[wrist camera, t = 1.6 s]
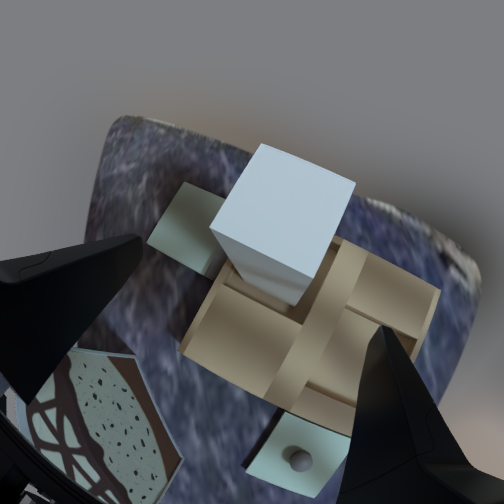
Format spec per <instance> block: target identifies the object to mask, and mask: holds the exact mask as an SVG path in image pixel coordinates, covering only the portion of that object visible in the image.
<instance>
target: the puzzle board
mask: <svg viewBox="0 0 504 504" xmlns="http://www.w3.org/2000/svg"><path fill="white" fill-rule="evenodd" d="M225 200H226V199H224V198H221V197H219V196H217V195H215V194H212V193H210V192H208V191H205V190H203V189H201V188H198V187H196V186H194V185H191V184H189V183H187V182H184V183H183V184H182V186H181V187H180V189H179V191H178V192H177V194H176V195H175V197H174V198H173V200H172V201H171V203H170V204H169V206H168V208H167V209H166V211H165V212H164V214H163V216H162V217H161V219H160V221H159V222H158V224H157V225H156V227H155V229H154V230H153V232H152V234H151V235H150V237H149V239H148V241H147V242H146V243H147V244H149V245H150V246H152V247H154V248H155V249H157V250H159V251H161V252H162V253H164V254H166V255H168V256H169V257H171V258H173V259H175V260H176V261H178V262H180V263H182V264H184V265H185V266H187V267H189V268H191V269H192V270H194V271H196V272H198V273H200V274H202V275H203V276H205V277H207V278H209V279H211V280H213V281H214V284H213V285H212V287H211V289H210V291H209V293H208V294H207V296H206V298H205V300H204V302H203V304H202V305H201V307H200V309H199V311H198V313H197V314H196V316H195V318H194V320H193V322H192V324H191V326H190V327H189V329H188V331H187V333H186V335H185V337H184V338H183V340H182V342H181V344H180V346H179V348H178V350H177V351H178V352H180V353H182V354H183V355H185V356H186V357H188V358H190V359H191V360H193V361H195V362H196V363H198V364H200V365H201V366H203V367H205V368H206V369H208V370H210V371H212V372H213V373H215V374H217V375H219V376H220V377H222V378H224V379H226V380H228V381H229V382H231V383H233V384H235V385H237V386H239V387H241V388H242V389H244V390H246V391H248V392H250V393H252V394H254V395H256V396H258V397H260V398H262V399H264V400H266V401H268V402H270V403H272V404H274V405H276V406H278V407H281V408H283V409H285V411H284V413H283V414H282V416H281V418H280V419H279V421H278V422H277V424H276V426H275V427H274V429H273V430H272V432H271V433H270V435H269V436H268V438H267V440H266V441H265V443H264V444H263V446H262V447H261V449H260V450H259V451H258V453H257V454H256V456H255V457H254V459H253V460H252V462H251V463H250V465H249V466H248V467H247V469H246V471H245V472H246V473H248V474H250V475H253V476H255V477H257V478H260V479H262V480H264V481H267V482H269V483H272V484H274V485H277V486H280V487H282V488H285V489H288V490H291V491H293V492H296V493H299V494H302V495H305V496H308V497H312V498H315V497H316V495H317V494H318V493H319V492H320V490H321V489H322V488H323V487H324V485H325V484H326V483H327V481H328V480H329V479H330V477H331V476H332V475H333V473H334V472H335V471H336V469H337V468H338V466H339V465H340V464H341V462H342V461H343V459H344V458H345V456H346V455H347V454H348V451H349V446H350V441H351V435H352V429H353V423H354V417H355V411H356V404H357V396H358V389H359V383H360V378H361V374H362V369H363V365H364V360H365V356H366V351H367V346H368V343H369V341H370V339H371V338H372V336H373V335H374V333H375V332H376V330H377V329H378V327H379V326H380V325H384V326H388V327H390V328H392V329H393V331H394V333H395V334H396V336H397V338H398V339H399V341H400V342H401V344H402V346H403V347H404V349H405V351H406V353H407V354H408V356H409V358H410V359H411V361H412V363H413V364H414V362H415V359H416V357H417V355H418V352H419V350H420V348H421V345H422V343H423V340H424V338H425V335H426V333H427V330H428V327H429V325H430V322H431V319H432V316H433V314H434V311H435V308H436V305H437V302H438V299H439V296H440V292H441V290H439V289H437V288H436V287H434V286H432V285H430V284H428V283H427V282H425V281H423V280H421V279H419V278H418V277H416V276H414V275H412V274H410V273H408V272H406V271H405V270H403V269H401V268H399V267H397V266H395V265H393V264H391V263H389V262H388V261H386V260H384V259H382V258H380V257H378V256H376V255H374V254H372V253H370V252H368V251H366V250H364V249H362V248H360V247H358V246H356V245H354V244H352V243H350V242H348V241H346V240H344V239H342V238H340V237H338V236H336V235H334V236H333V238H332V240H331V242H330V244H329V247H328V249H327V251H326V253H325V255H324V257H323V260H322V262H321V264H320V266H319V268H318V270H317V272H316V274H315V276H314V278H313V280H312V282H311V283H310V285H309V286H308V288H307V289H306V291H305V292H304V294H303V295H302V297H301V298H300V300H299V301H298V303H297V304H296V306H295V307H294V306H292V305H290V304H288V303H286V302H284V301H282V300H280V299H278V298H276V297H274V296H272V295H270V294H268V293H266V292H264V291H262V290H260V289H258V288H256V287H254V286H252V285H251V284H249V283H247V282H245V281H244V280H243V278H242V277H241V275H240V274H239V272H238V271H237V269H236V268H235V266H234V265H233V263H232V262H231V260H230V259H229V257H228V256H227V254H226V252H225V251H224V249H223V248H222V246H221V245H220V243H219V242H218V240H217V239H216V237H215V236H214V234H213V232H212V231H211V229H210V228H209V227H210V225H211V224H212V222H213V220H214V219H215V217H216V215H217V214H218V212H219V210H220V209H221V207H222V205H223V204H224V202H225ZM286 410H287V411H286ZM288 411H289V412H288ZM293 413H294V414H293ZM295 414H296V415H295ZM297 415H298V416H297ZM302 417H303V418H302ZM304 418H305V419H304ZM306 419H307V420H306ZM309 420H310V421H309ZM311 421H312V422H311ZM313 422H314V423H313ZM316 423H317V424H316ZM318 424H319V425H318ZM321 425H322V426H321ZM323 426H324V427H323ZM326 427H327V428H326ZM328 428H329V429H328ZM331 429H332V430H331ZM333 430H334V431H333ZM336 431H337V432H336ZM339 432H340V433H339ZM341 433H342V434H341ZM344 434H345V435H344ZM347 435H348V436H347ZM349 436H350V437H349Z"/></svg>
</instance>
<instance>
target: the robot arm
mask: <svg viewBox="0 0 504 504" xmlns="http://www.w3.org/2000/svg"><path fill="white" fill-rule="evenodd" d="M142 256H143V248H142V238H141V237H140V236H137V235H135V234H128V235H123V236H118V237H113V238H109V239H104V240H99V241H94V242H90V243H85V244H80V245H76V246H71V247H67V248H62V249H58V250H54V251H49V252H45V253H41V254H36V255H31V256H26V257H20V258H15V259H9V260H4V261H0V504H107V503H105V502H104V501H102V500H101V499H99V498H98V497H96V496H95V495H93V494H92V493H91V492H89V491H88V490H86V489H85V488H84V487H82V486H81V485H79V484H78V483H77V482H76V481H74V480H73V479H72V478H70V477H69V476H68V475H67V474H65V473H64V472H63V471H62V470H60V469H59V468H58V467H57V466H56V465H54V464H53V463H52V462H51V461H50V460H49V459H48V458H47V457H45V456H44V455H43V454H42V453H41V452H40V451H39V450H38V449H37V448H36V447H35V446H34V445H33V444H32V443H31V442H30V441H29V440H28V439H27V438H26V437H25V436H24V435H23V434H22V433H21V432H20V431H19V430H18V429H17V428H16V427H15V426H14V425H13V424H12V423H11V421H10V420H9V419H8V418H7V417H6V396H5V395H4V393H5V392H6V390H7V389H8V388H9V387H10V388H11V389H12V390H13V391H14V393H16V395H17V396H18V397H19V398H20V399H21V400H22V401H23V402H24V403H25V404H26V405H27V406H29V405H30V404H31V402H32V401H33V399H34V398H35V396H36V395H37V394H38V392H39V391H40V389H41V388H42V387H43V385H44V384H45V383H46V381H47V380H48V378H49V377H50V376H51V374H52V373H53V372H54V370H55V369H56V368H57V366H58V365H59V364H60V362H61V361H62V360H63V358H64V357H65V356H66V354H67V353H68V352H69V351H70V349H71V348H72V347H73V346H74V344H75V343H76V342H77V341H78V339H79V338H80V337H81V336H82V334H83V333H84V332H85V331H86V329H87V328H88V327H89V326H90V325H91V323H92V322H93V321H94V320H95V318H96V317H97V316H98V315H99V314H100V313H101V311H102V310H103V309H104V308H105V307H106V305H107V304H108V303H109V302H110V301H111V300H112V299H113V297H114V296H115V295H116V294H117V293H118V292H119V290H120V289H121V288H122V286H123V285H124V284H125V282H126V281H127V280H128V278H129V277H130V275H131V274H132V273H133V271H134V270H135V268H136V267H137V266H138V264H139V263H140V262H141V260H142ZM433 402H434V401H433V399H432V397H431V395H430V393H429V391H428V389H427V388H426V386H425V384H424V382H423V380H422V379H421V377H420V375H419V373H418V372H417V370H416V368H415V366H414V365H413V363H412V361H411V359H410V358H409V356H408V354H407V353H406V351H405V349H404V347H403V346H402V344H401V342H400V341H399V339H398V338H397V336H396V334H395V333H394V331H393V329H392V328H390V327H388V326H384V325H380V326H379V327H378V329H377V330H376V332H375V333H374V335H373V336H372V338H371V339H370V341H369V343H368V346H367V351H366V356H365V360H364V365H363V369H362V374H361V378H360V383H359V389H358V396H357V404H356V411H355V417H354V423H353V429H352V435H351V441H350V446H349V451H348V456H347V461H346V465H345V470H344V474H343V478H342V483H341V487H340V491H339V495H338V498H337V501H336V504H504V480H501V479H499V478H496V477H494V476H491V475H489V474H486V473H484V472H482V471H479V470H477V469H476V468H474V467H473V466H472V465H471V464H470V463H469V461H468V460H467V458H466V457H465V455H464V453H463V452H462V450H461V448H460V447H459V445H458V443H457V441H456V440H455V438H454V436H453V435H452V433H451V432H450V430H449V428H448V426H447V425H446V423H445V421H444V420H443V417H442V416H441V414H440V412H439V410H438V408H437V406H436V404H435V403H433ZM28 483H29V484H30V485H32V486H33V487H35V488H36V489H37V490H38V491H37V492H38V493H39V494H40V495H42V496H44V497H45V498H47V499H49V500H50V502H48V501H46V500H44V499H43V498H41V497H39V496H37V495H35V494H32V493H30V492H28V491H25V490H24V489H25V487H26V486H27V485H28Z"/></svg>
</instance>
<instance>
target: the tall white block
mask: <svg viewBox="0 0 504 504" xmlns="http://www.w3.org/2000/svg"><path fill="white" fill-rule="evenodd" d="M355 185H356V183H355V182H353V181H351V180H348V179H346V178H344V177H342V176H339V175H338V174H335V173H333V172H331V171H329V170H326V169H324V168H322V167H319V166H317V165H315V164H313V163H310V162H308V161H305V160H303V159H301V158H298V157H296V156H293V155H291V154H288V153H286V152H283V151H281V150H278V149H275V148H273V147H270V146H267V145H265V144H261V145H260V146H259V148H258V149H257V151H256V153H255V154H254V156H253V157H252V159H251V160H250V162H249V163H248V165H247V167H246V168H245V170H244V171H243V173H242V174H241V176H240V178H239V179H238V181H237V182H236V184H235V186H234V187H233V189H232V191H231V192H230V194H229V195H228V197H227V199H226V200H225V202H224V204H223V205H222V207H221V209H220V210H219V212H218V214H217V215H216V217H215V219H214V220H213V222H212V224H211V225H210V227H209V228H210V229H211V231H212V232H213V234H214V236H215V237H216V239H217V240H218V242H219V243H220V245H221V246H222V248H223V249H224V251H225V252H226V254H227V256H228V257H229V259H230V260H231V262H232V263H233V265H234V266H235V268H236V269H237V271H238V272H239V274H240V275H241V277H242V278H243V280H244V281H245V282H247V283H249V284H251V285H252V286H254V287H256V288H258V289H260V290H262V291H264V292H266V293H268V294H270V295H272V296H274V297H276V298H278V299H280V300H282V301H284V302H286V303H288V304H290V305H292V306H294V307H295V306H296V304H297V303H298V301H299V300H300V298H301V297H302V295H303V294H304V292H305V291H306V289H307V288H308V286H309V285H310V283H311V282H312V280H313V278H314V276H315V274H316V272H317V270H318V268H319V266H320V264H321V262H322V260H323V257H324V255H325V253H326V251H327V249H328V247H329V244H330V242H331V240H332V238H333V236H334V233H335V231H336V229H337V227H338V224H339V222H340V220H341V218H342V215H343V213H344V211H345V208H346V206H347V204H348V201H349V199H350V197H351V194H352V192H353V189H354V187H355Z"/></svg>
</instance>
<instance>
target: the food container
mask: <svg viewBox="0 0 504 504" xmlns="http://www.w3.org/2000/svg"><path fill="white" fill-rule="evenodd" d="M15 396H16V397H15V408H16V418H17V423H18V428H19V431H20V432H21V433H22V434H23V435H24V436H25V437H26V438H27V439H28V440H29V441H30V442H31V443H32V444H33V445H34V446H35V447H36V448H37V449H38V450H39V451H40V452H41V453H42V454H43V455H44V456H45V457H47V458H48V459H49V460H50V461H51V462H52V463H53V464H54V465H56V466H57V467H58V468H59V469H60V470H62V471H63V472H64V473H65V474H67V475H68V476H69V477H70V478H72V479H73V480H74V481H76V482H77V483H78V484H79V485H81V486H82V487H84V488H85V489H86V490H88V491H89V492H91V493H92V494H93V495H95V496H96V497H98V498H99V499H101V500H102V501H104V502H105V503H107V504H159V503H160V502H161V500H162V498H163V497H164V495H165V493H166V491H167V490H168V488H169V486H170V485H171V483H172V481H173V479H174V478H175V476H176V474H177V472H178V471H179V469H180V467H181V465H182V463H183V462H184V460H185V459H184V457H183V455H182V453H181V452H180V450H179V448H178V446H177V444H176V442H175V440H174V439H173V437H172V435H171V433H170V431H169V429H168V427H167V425H166V423H165V421H164V419H163V416H162V414H161V412H160V410H159V408H158V406H157V404H156V401H155V399H154V397H153V395H152V392H151V390H150V388H149V386H148V383H147V381H146V378H145V376H144V374H143V371H142V369H141V366H140V363H139V361H138V358H137V356H136V355H129V354H120V353H111V352H103V351H96V350H89V349H82V348H76V347H72V348H71V349H70V351H69V352H68V353H67V354H66V356H65V357H64V358H63V360H62V361H61V362H60V364H59V365H58V366H57V368H56V369H55V370H54V372H53V373H52V374H51V376H50V377H49V378H48V380H47V381H46V383H45V384H44V385H43V387H42V388H41V389H40V391H39V392H38V394H37V395H36V396H35V398H34V399H33V401H32V402H31V404H30V405H29V406H27V405H26V404H25V403H24V402H23V401H22V400H21V399H20V398H19V397H18V396H17V395H15Z"/></svg>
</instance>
